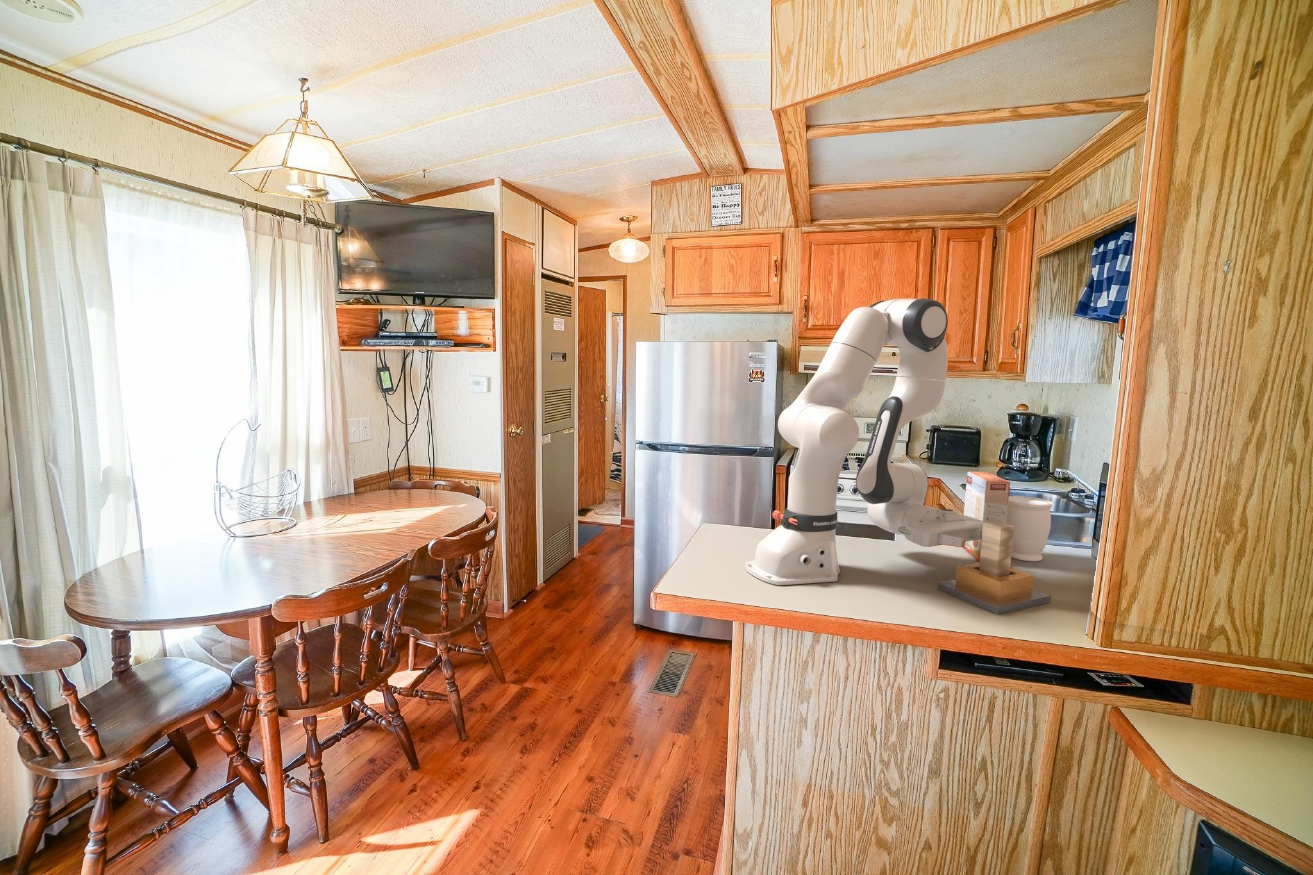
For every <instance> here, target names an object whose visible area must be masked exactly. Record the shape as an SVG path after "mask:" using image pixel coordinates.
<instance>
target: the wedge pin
mask: <svg viewBox="0 0 1313 875" xmlns="http://www.w3.org/2000/svg"><path fill="white" fill-rule="evenodd" d="M1013 533H1014V526H1011V525H1008V524H1004V523H1000V522H988V523H983V530H982V541H981V553H980V565H979V571H982V572H984V573H987V574H990V575H993V576H996V577H1003V576H1008V575H1010V568H1011V563H1012V558H1011V554H1012V544H1013Z"/></svg>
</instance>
